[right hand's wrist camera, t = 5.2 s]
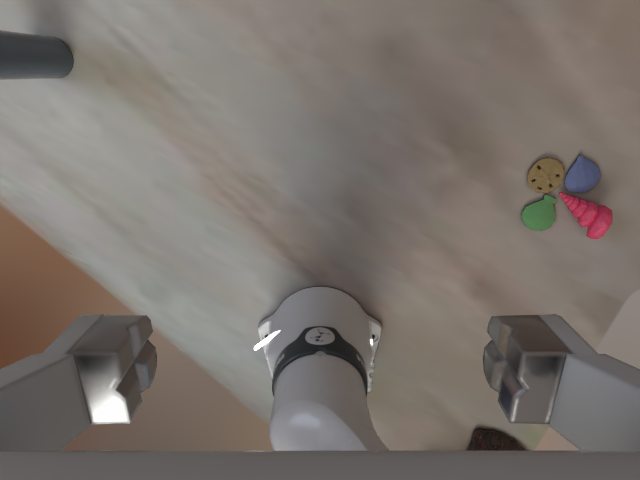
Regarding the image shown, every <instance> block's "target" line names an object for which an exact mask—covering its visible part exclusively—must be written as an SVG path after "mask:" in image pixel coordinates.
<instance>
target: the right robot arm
mask: <svg viewBox="0 0 640 480" xmlns="http://www.w3.org/2000/svg"><path fill="white" fill-rule="evenodd" d="M152 332H153V330H152V325H151V320H150V319H149V318H148V316H147V315H103V314H98V315H97V314H96V315H81V316H79V317H78V318H77V319H76V320H75V321H74V322H73V323H72V324H71V325H70V326H69V327H68V328H67V329H66V330H65V331H64V332H63V333H62V334H61V335H60V336H59V337H58V338H57V339H56V340H55V341H54V342H53V343H52V344H51V345H50V346H49V347H48V348H47V349H46V350H45V351H44V352H43V353H42V354H34V355H31V356H29V357H27V358H25V359H22V360H20V361H18V362H16V363H13V364H11V365H9V366H7V367H4V368H2V369H0V480H640V369H638V368H636V367H633V366H631V365H629V364H627V363H624V362H622V361H620V360H617V359H615V358H613V357H611V356H609V355H606V354H598V353H597V352H596V351H595V350H594V349H593V348H592V347H591V346H590V345H589V344H588V343H587V342H586V341H585V340H584V339H583V338H582V337H581V336H580V335H579V334H578V333H577V332H576V331H575V330H574V329H573V328H572V327H571V326H570V325H569V324H568V323H567V322H566V321H565V320H564V319H563V318H562V317H561V316H559V315H556V314H548V315H515V316H492V317H491V319H490V321H489V324H488V330H487V332H488V334H489V335H490V337H491V339H492V340H491V341H490V342H489V343H488V344H487V345H486V346H485V347H484V355H483V366H484V373H485V376H486V379H487V381H488V383H489V385H490V387H491V388H492V389H494V390H495V391H497V392H498V393H499V398H498V402H499V404H500V406H501V408H502V409H503V411H504V413H505V415H506V417H507V419H508V420H509V422H510V423H527V424H549V426H550V427H551V428H553V429H554V430H555V431H556V432H558V433H559V434H560V435H561V436H563V437H564V438H565V439H566V440H568V441H569V442H570V443H572V444H573V445H574V446H575V447H577V448H578V449H579V450H580V451H390V450H389V449H388V448H387V447H386V446H385V445H384V443H383V442H382V441H381V439H380V438H379V436H378V435H377V433H376V431H375V430H374V427H373V424H372V421H371V417H370V414H369V409H368V405H367V399H366V396H367V392H370V391H371V389H372V377H371V376H369V374H370V373H373V372H374V363H373V360H374V357H375V353H376V350H377V346H378V343H379V339H380V336H381V333H382V326H381V324H380V323H379V322H378V321H377V320H375V319H374V318H372V317H370V316H369V315H367V314H366V313H365V312H364V310H363V309H362V308H361V306H360V305H359V304H358V302H357V301H356V300H355V299H353V298H352V297H351V296H349V295H348V294H346V293H344V292H342V291H340V290H337V289H334V288H329V287H311V288H306V289H303V290H300V291H298V292H296V293H294V294H292V295H291V296H289V297H288V298H287V299H286V300H284V301H283V302H282V304H281V305H280V306H279V308H278V309H277V310H276V312H275V313H274V314H273V315H271V316H270V317H268V318H266V319H265V320H263V321H262V322H261V323H260V324H259V326H258V333H259V336H260V339H261V342H260V343H259V344H257V345H256V346H255V348H254V350H255V351H256V350H257V349H259V348H260V347H262V346H263V350H264V353H265V356H266V360H267V363H268V367H269V370H270V374H271V377H272V382H273V383H272V391H273V396H274V401H273V408H272V415H271V422H270V440H271V444H272V447H273V449H274V451H60V450H61V449H62V448H64V447H65V446H66V445H67V444H69V443H70V442H71V441H72V440H74V439H75V438H76V437H78V436H79V435H80V434H81V433H83V432H84V431H85V430H86V429H88V428H89V427H90V426H91V424H112V423H130V422H131V420H132V419H133V417H134V415H135V413H136V411H137V409H138V407H139V406H140V404H141V402H142V398H141V393H142V392H143V391H145V390H146V389H148V388H149V387H150V385H151V383H152V381H153V379H154V376H155V372H156V367H157V354H156V348H155V346H154V345H153V344H152V343H151V342H150V341H149V340H148V339H149V337H150V335H151V334H152ZM266 334H268V336H266ZM372 334H374V336H372Z"/></svg>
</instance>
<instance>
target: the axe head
mask: <svg viewBox="0 0 640 480" xmlns="http://www.w3.org/2000/svg"><path fill="white" fill-rule="evenodd" d="M468 451H525V450H524V449H522V448H520V446H519V445H518V443H517V442H516V441H515V440H514V439H513V438H508V437H507V435H505V434H502V433H499V432H496V431H488V430H483V429H480V430H477V431H475V432H474V434H473V436H472V443H471V444H470V447H469V450H468Z"/></svg>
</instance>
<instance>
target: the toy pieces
mask: <svg viewBox="0 0 640 480" xmlns="http://www.w3.org/2000/svg"><path fill="white" fill-rule="evenodd" d="M538 165H539V166H540V167H541V169H540V170H539V169H538V168H537V166H538ZM557 174H560V175H559V177H557V176H556V175H557ZM563 176H564V168H563V166H562V164H561V163H560V162H559V161H558V160H556V159H552V158H544V159H541V160H539V161H538V162H536V163H535V164H534V165H533V167H532V168H531V169H530V171H529V173H528V184H529V186H530V188H531V189H532V190H534V191H536V192H540V193H548V192H550V191H552V190H554V189H555V188H557V187H558V186H559V185H560V184H561V181H562V179H563ZM600 177H601V175H600V171H599V168H598V167H597V166H596V165H595V164H594V163H593V162H591V161H589V160H587V159H585V158H584V157H583V156H582V155H580V156H579V157H578V159H577V161H576V162H575V163H574V165H573V166H572V168H571V169H570V171H569V172H568V174H567V176H566V178H565V184H566V188H567V189H568V190H569V191H570V192H575V193H584V192H587V191H588V190H590V189H592V188H593V187H594V186H595V185H597V184H598V182H599V179H600ZM533 179H535V181H534V182H532V180H533ZM550 183H551V184H552V187H550V186H549V184H550ZM538 186H539V187H541V189H538ZM559 195H560V196H561V197H562V199H563V201H564V202H566V203H565V204H566V205H567V206H568V208H569V210H570V211H572V214H573V216H574V217H577V218H578V223H579V224H580V226H581V227H589V228H588V230H587V236H588V237H589V238H591V239H599V238H601V237H602V236H604V234H605V233H606V231H607V230H608V229H609V227H610V225H611V224H612V215H613V214H612V210H611V209H609V208H607V207H606V206H603V205H598V206H596V204H595V203H593V202H591V201H590V202H586V201H585V200H583V199H579V198H577V197H573V196H572V195H566V194H564V193H561V192H559ZM556 202H557V200H556V199H555V198H553V197H551V196H548V195H544V200H540V201H537V202H535V203H533V204H530V205H528V206H526V207H525V209H524V210H523V212H522V214H521V215H522V222H523V223H524V224H525V225H526V226H527V227H529V228H530V229H533V230H538V231H542V230H545V229H547V228H550V226H551V225H552V224H553V223H554V221H555V210H554V206H553V204H554V203H556Z"/></svg>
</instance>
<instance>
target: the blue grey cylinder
mask: <svg viewBox="0 0 640 480" xmlns="http://www.w3.org/2000/svg"><path fill="white" fill-rule="evenodd" d="M72 67H73V56H72V53H71V51H70V49H69V48H68V46H67V45H66V44H65V43H64V42H63V41H61V40H60V39H58V38H55V37H49V36H41V35H33V34H25V33H18V32H10V31H2V30H0V80H5V79H41V78H62V77H65V76H67V75H68V74H69V73H70V71H71V70H72Z"/></svg>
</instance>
